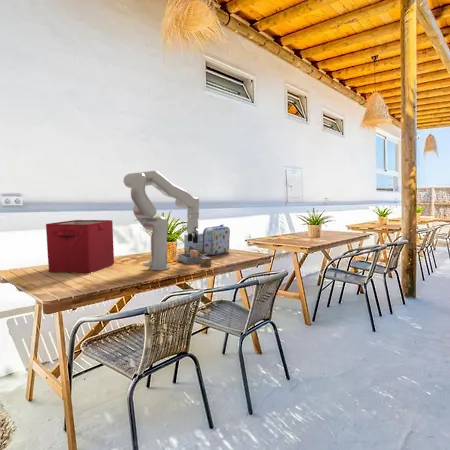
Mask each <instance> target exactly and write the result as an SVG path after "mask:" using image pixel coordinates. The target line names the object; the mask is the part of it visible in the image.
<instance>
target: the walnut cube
mask: <svg viewBox="0 0 450 450" xmlns="http://www.w3.org/2000/svg"><path fill="white" fill-rule="evenodd" d="M200 266H201V267H203V268H205V267H206V266H207V267H212V258H211V257H209V256H206V257H203V258H201V263H200Z"/></svg>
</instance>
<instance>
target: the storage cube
mask: <svg viewBox="0 0 450 450" xmlns="http://www.w3.org/2000/svg"><path fill="white" fill-rule="evenodd" d="M113 223H114V222H113V219H112V220H110V219H107V220H105V219H104V220H103V219H102V220H101V219H74V220H66V221H65V220H64V221H59V222H51V223H45V231H46V232H45V233H46V247H47V248H46V249H47V263H48V265H47V266H48V272H49V273H63V272H76V273H75V274H81V273H90V274H92V273H91V272H93V273H95V272H97V270H98V271H100V270H103V269H106V268H108V267H111V266H112V265H115V256H114V255H115V254H114V253H115V252H114V229H113V228H114V227H113ZM94 271H95V272H94Z"/></svg>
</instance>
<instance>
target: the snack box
mask: <svg viewBox="0 0 450 450" xmlns="http://www.w3.org/2000/svg"><path fill="white" fill-rule="evenodd" d="M192 235H193V234H192ZM193 237H194V236H193ZM183 240H184V241H183V242H184V243H183V244H184V247H183V248H184V249H183V254H185V253H190V250H197V251H198V253H199V254H202V253H203V232H198V243H193V240H192V241H188V234H184V239H183ZM203 254H204V253H203Z"/></svg>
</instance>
